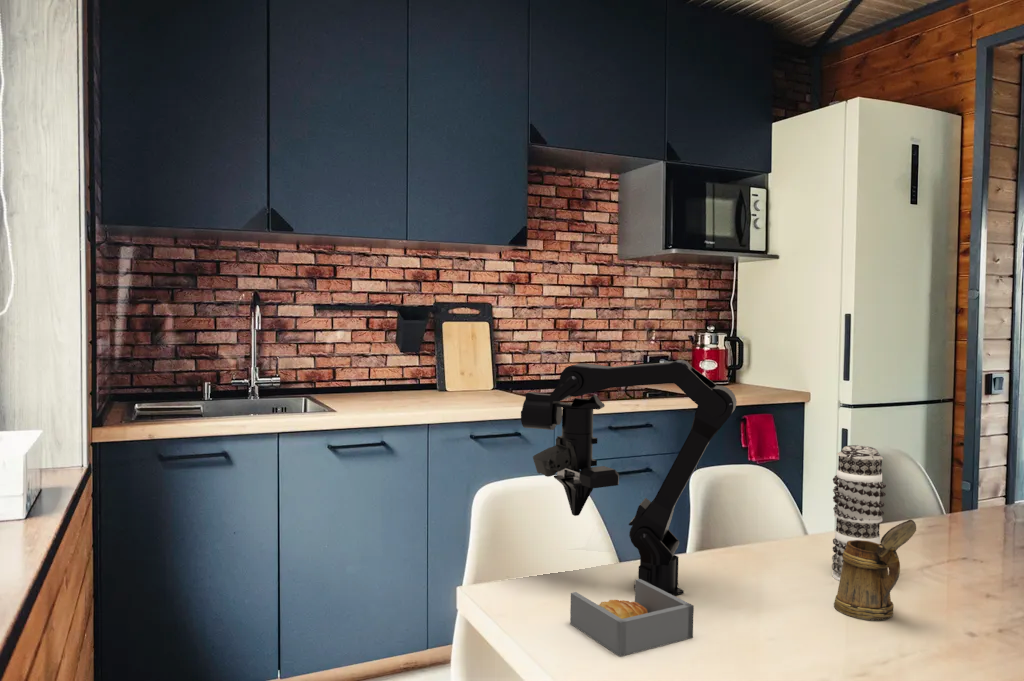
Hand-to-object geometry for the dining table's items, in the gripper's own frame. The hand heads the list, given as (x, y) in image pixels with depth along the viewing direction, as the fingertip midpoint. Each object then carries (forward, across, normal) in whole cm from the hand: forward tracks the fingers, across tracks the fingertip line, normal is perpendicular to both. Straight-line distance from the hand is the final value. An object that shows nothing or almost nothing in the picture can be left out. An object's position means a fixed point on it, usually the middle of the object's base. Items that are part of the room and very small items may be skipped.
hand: (575, 515), depth 142 cm
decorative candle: (+12, +24, +48) cm, 55 cm away
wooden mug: (+12, +37, +35) cm, 52 cm away
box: (+12, +23, -5) cm, 26 cm away
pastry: (+12, +20, -5) cm, 24 cm away
